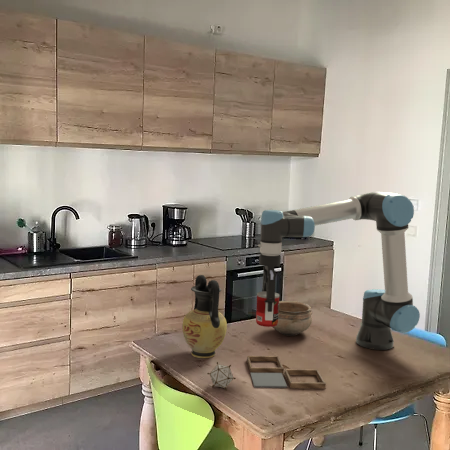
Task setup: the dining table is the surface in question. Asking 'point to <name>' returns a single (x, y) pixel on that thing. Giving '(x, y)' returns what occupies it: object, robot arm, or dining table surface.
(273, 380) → the slate board
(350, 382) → the dining table surface
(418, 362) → the dining table surface
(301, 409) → the dining table surface
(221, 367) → the game die
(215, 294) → the amphora
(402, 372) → the dining table surface
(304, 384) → the empty crate
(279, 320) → the cooking pot
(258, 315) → the canned food
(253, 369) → the frame
